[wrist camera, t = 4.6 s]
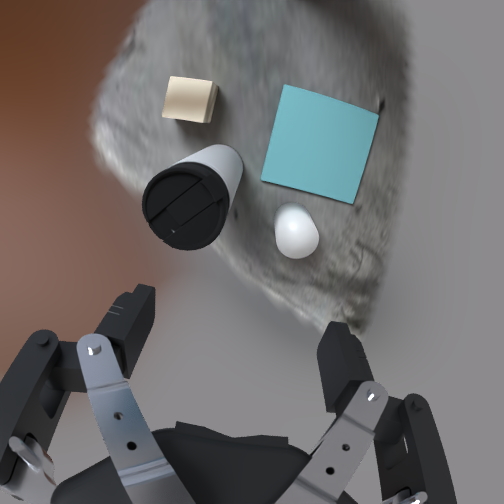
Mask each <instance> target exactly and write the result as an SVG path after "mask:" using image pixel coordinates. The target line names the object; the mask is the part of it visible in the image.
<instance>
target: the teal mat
mask: <svg viewBox="0 0 504 504" xmlns="http://www.w3.org/2000/svg"><path fill="white" fill-rule="evenodd" d="M378 117H379V115H377V114H375V113H372V112H370V111H367V110H364V109H362V108H359V107H356V106H354V105H351V104H348V103H345V102H342V101H339V100H336V99H333V98H330V97H327V96H324V95H321V94H318V93H314V92H311V91H307V90H304V89H300V88H297V87H293V86H289V85H285V84H284V87H283V91H282V95H281V99H280V103H279V107H278V111H277V115H276V119H275V123H274V127H273V131H272V135H271V139H270V143H269V147H268V151H267V155H266V159H265V163H264V167H263V171H262V175H261V180H263V181H268V182H272V183H276V184H280V185H284V186H288V187H292V188H296V189H300V190H304V191H308V192H311V193H315V194H319V195H322V196H326V197H330V198H333V199H337V200H340V201H344V202H347V203H350V204H353V202H354V199H355V196H356V193H357V190H358V187H359V183H360V180H361V177H362V174H363V171H364V167H365V164H366V161H367V157H368V154H369V150H370V147H371V143H372V140H373V136H374V132H375V129H376V125H377V121H378Z"/></svg>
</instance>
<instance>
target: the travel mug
mask: <svg viewBox="0 0 504 504" xmlns="http://www.w3.org/2000/svg"><path fill="white" fill-rule="evenodd" d="M242 172H243V162H242V159H241V157H240V155H239V154H238V152H237V151H236V150H234V149H233V148H232V147H230V146H227V145H224V144H215V145H211V146H209V147H207V148H205V149H203V150H201V151H198V152H196V153H194V154H192V155H190V156H188V157H187V158H185V159H183V160H181V161H179V162H177V163H175V164H173V165H171V166H170V167H168V168H167V169H165V170H163V171H162V172H160V173H159V174H157V175H156V176H154V177H153V178H152V180H151V181H150V182H149V183H148V185H147V187H146V188H145V191H144V194H143V199H142V211H143V214H144V216H145V219H146V221H147V222H148V223H149V226H150V228H151V229H152V230H153V232H154V233H155V234H156V235H157V236H158V237H159V238H160V239H162V240H164V241H163V242H165V243H166V244H168V245H169V246H171V247H172V248H176V249H179V250H187V251H188V250H197V249H201V248H203V247H205V246H207V245H209V244H210V243H212V242H213V241H214V240H215V239H216V238H217V237H218V235H219V234H220V232H221V230H222V228H223V226H224V223H225V220H226V218H227V216H228V214H229V211H230V208H231V205H232V202H233V199H234V196H235V193H236V190H237V187H238V185H239V182H240V179H241V176H242Z"/></svg>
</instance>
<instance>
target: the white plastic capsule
mask: <svg viewBox="0 0 504 504" xmlns="http://www.w3.org/2000/svg"><path fill="white" fill-rule="evenodd" d="M274 226H275V235H276V243H277V246H278V249H279V250H280V251H281V253H282V254H284V255H285V256H287V257H289V258H294V259H300V258H304V257H306V256H308V255H310V254H311V253H312V252H313V251H314V250H315V249H316V247H317V245H318V242H319V234H318V231H317V229H316V227H315V225H314V223H313V221H312V219H311V216H310V214H309V212H308V211H307V209H306V208H305V207H304V206H303V205H301V204H299V203H296V202H289V203H285V204H283V205H281V206H280V207H279V208H278V209H277V211H276V212H275V215H274Z"/></svg>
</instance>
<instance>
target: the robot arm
mask: <svg viewBox="0 0 504 504" xmlns="http://www.w3.org/2000/svg"><path fill="white" fill-rule="evenodd" d="M154 318H155V287H152V286H147V285H143V284H138V285H137V287H136V288H135V290H134V291H133V293H129V292H125V293H123V294H122V295H120V296H119V297H118V298H117V299H116V300H115V302H114V303H113V305H112V306H111V308H110V309H109V311H108V312H107V314H106V315H105V317H104V318H103V320H102V321H101V323H100V324H99V326H98V327H97V329H96V330H95V332H94V333H93V334H88V335H85V336H83V337H82V338H81V339H80V340H79V341H78V342H66V341H59V340H58V337H57V335H56V334H55V333H54V332H52V331H50V330H39V331H36V332H34V333H33V334H32V335H31V336H30V337H29V338H28V340H27V341H26V343H25V344H24V346H23V347H22V349H21V350H20V352H19V353H18V355H17V357H16V358H15V360H14V361H13V363H12V364H11V366H10V368H9V369H8V371H7V372H6V374H5V376H4V377H3V379H2V381H1V383H0V490H2V491H3V492H5V493H7V494H9V495H11V496H13V497H14V498H16V499H18V500H25V501H27V502H29V503H31V504H358V503H357V502H356V501H355V500H354V499H353V498H352V497H351V496H350V495H349V494H347V493H346V492H345V491H344V489H345V487H346V485H347V484H348V482H349V481H350V479H351V478H352V476H353V474H354V473H355V471H356V469H357V468H358V466H359V464H360V462H361V461H362V459H363V457H364V455H365V453H366V451H367V450H368V448H369V446H370V444H371V442H372V440H374V446H375V452H376V458H377V464H378V471H379V478H380V485H381V493H382V501H383V502H382V503H381V504H457V501H456V496H455V492H454V487H453V483H452V479H451V475H450V471H449V467H448V464H447V460H446V456H445V453H444V449H443V446H442V443H441V440H440V436H439V433H438V430H437V427H436V424H435V421H434V419H433V415H432V412H431V409H430V407H429V404H428V402H427V401H426V400H425V399H424V398H423V397H422V396H420V395H418V394H414V393H413V394H409V395H407V397H405V399H404V400H401V399H398V398H394V397H390V396H388V393H387V391H386V390H385V388H384V387H383V386H382V385H381V384H379V383H377V382H375V381H374V378H373V375H372V372H371V369H370V366H369V363H368V361H367V359H366V355H365V353H364V349H363V346H362V344H361V342H360V341H359V339H358V338H357V337H356V336H355V335H352V334H351V333H350V330H349V327H348V325H347V323H342V322H335V321H331V322H330V323H329V324H328V326H327V328H326V330H325V333H324V335H323V337H322V339H321V341H320V343H319V345H318V349H317V360H318V365H319V370H320V376H321V382H322V387H323V393H324V399H325V405H326V411H327V412H330V413H336V418H335V419H334V421H333V422H332V424H331V425H330V426H329V428H328V429H327V430H326V432H325V433H324V435H323V436H322V437H321V439H320V440H319V441H318V443H317V444H316V445H315V446H314V448H313V449H312V450H311V451H310V452H309V454H307V453H306V452H304V451H303V450H301V449H299V448H297V447H294V446H292V445H289V444H288V437H280V436H267V435H257V436H248V437H237V438H232V437H229V436H226V435H224V434H221V433H218V432H216V431H213V430H210V429H208V428H206V427H202V426H197V425H192V424H187V423H183V422H178V421H177V422H176V426H175V428H165V429H159V430H155V431H152V432H151V431H150V429H149V428H148V425H147V423H146V421H145V419H144V417H143V415H142V413H141V411H140V409H139V407H138V405H137V402H136V400H135V398H134V396H133V394H132V391H131V389H130V387H129V384H128V382H127V381H125V380H124V378H127V379H130V377H131V374H132V372H133V369H134V367H135V365H136V363H137V360H138V358H139V356H140V353H141V351H142V348H143V346H144V344H145V342H146V340H147V337H148V335H149V333H150V331H151V328H152V326H153V323H154ZM71 391H72V392H84V393H88V396H89V400H90V403H91V406H92V409H93V412H94V415H95V418H96V421H97V423H98V426H99V429H100V432H101V434H102V437H103V440H104V442H105V444H106V447H107V450H108V452H109V454H110V456H109V457H107V458H105V459H103V460H102V461H100V462H98V463H96V464H95V465H93V466H91V467H89V468H87V469H85V470H84V471H82V472H80V473H78V474H76V475H74V476H72V477H70V478H68V479H66V480H64V481H63V482H61V483H60V484H59V485H58V486H57V485H56V484H55V481H54V477H53V474H54V464H53V461H52V459H51V457H50V456H49V455H48V454H47V451H48V447H49V445H50V442H51V440H52V437H53V434H54V432H55V429H56V426H57V424H58V422H59V419H60V417H61V414H62V412H63V410H64V407H65V405H66V402H67V400H68V398H69V396H70V393H71ZM404 437H405V439H406V443H407V448H408V453H407V451H406V447H405V442H404Z"/></svg>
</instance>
